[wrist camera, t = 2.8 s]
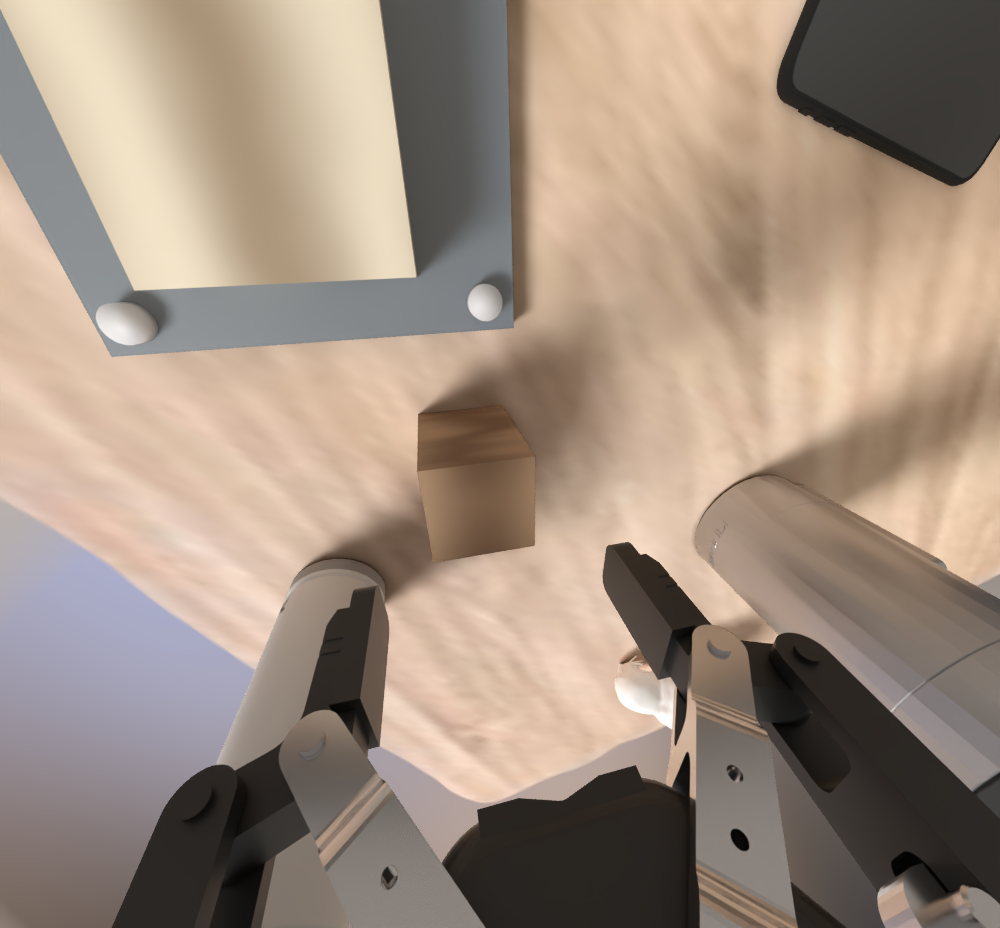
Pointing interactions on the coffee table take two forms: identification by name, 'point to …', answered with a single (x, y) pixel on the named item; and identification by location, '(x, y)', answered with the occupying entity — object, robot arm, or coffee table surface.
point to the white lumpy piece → (645, 692)
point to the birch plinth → (228, 135)
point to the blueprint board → (334, 304)
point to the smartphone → (901, 78)
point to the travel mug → (272, 714)
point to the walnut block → (475, 482)
